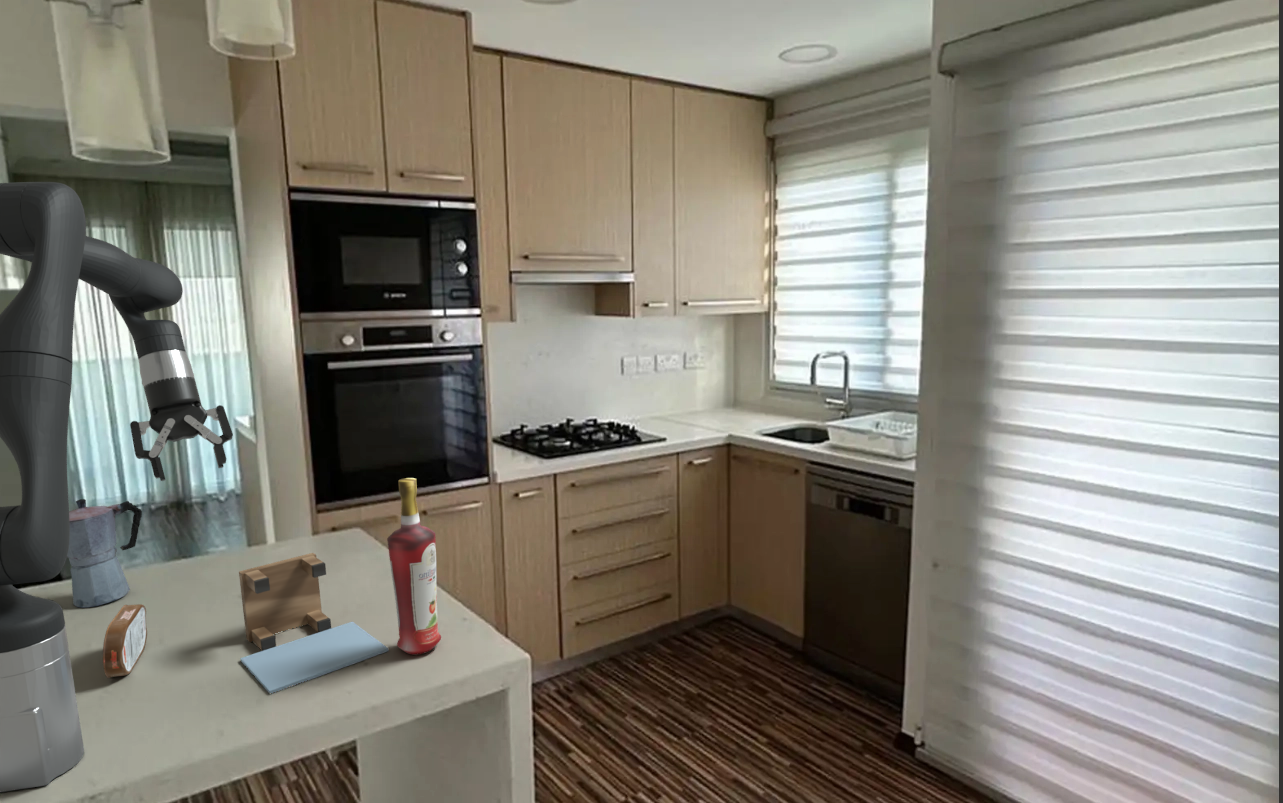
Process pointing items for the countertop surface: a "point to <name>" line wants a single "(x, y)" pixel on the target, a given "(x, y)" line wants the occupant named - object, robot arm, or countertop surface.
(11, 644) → the robot arm
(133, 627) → the tin
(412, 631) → the liquor
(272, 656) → the mat
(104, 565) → the moka pot
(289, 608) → the wooden board with legs
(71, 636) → the countertop surface
